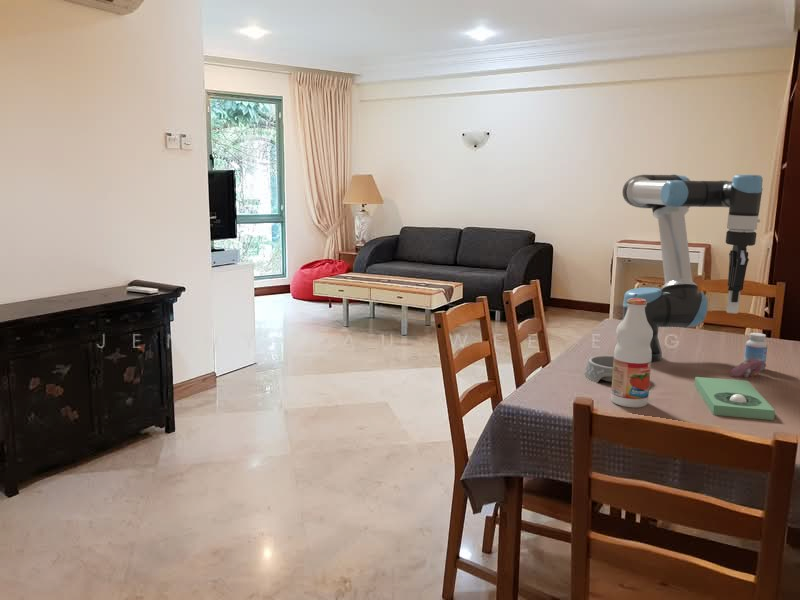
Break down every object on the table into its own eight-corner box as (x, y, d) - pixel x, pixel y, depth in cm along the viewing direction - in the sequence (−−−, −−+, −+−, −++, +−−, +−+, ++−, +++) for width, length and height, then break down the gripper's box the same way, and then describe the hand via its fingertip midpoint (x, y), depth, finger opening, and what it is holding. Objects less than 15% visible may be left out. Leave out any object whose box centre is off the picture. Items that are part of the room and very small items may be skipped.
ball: (729, 412, 171) (731, 400, 169) (727, 402, 174) (728, 390, 172) (746, 413, 170) (748, 401, 168) (743, 403, 173) (745, 391, 171)
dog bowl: (591, 367, 210) (592, 351, 209) (651, 376, 201) (653, 359, 200) (577, 381, 195) (578, 363, 194) (642, 391, 187) (643, 372, 186)
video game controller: (737, 383, 199) (749, 366, 195) (727, 373, 203) (738, 356, 199) (760, 380, 203) (771, 363, 199) (749, 370, 207) (760, 353, 203)
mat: (694, 385, 192) (695, 376, 191) (746, 389, 189) (747, 380, 188) (713, 414, 167) (714, 405, 167) (774, 420, 164) (775, 410, 163)
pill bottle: (767, 371, 207) (771, 337, 205) (746, 370, 208) (750, 335, 206) (761, 366, 213) (765, 332, 211) (740, 365, 214) (744, 331, 212)
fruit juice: (620, 394, 182) (628, 295, 177) (653, 402, 176) (662, 299, 171) (604, 402, 176) (611, 299, 171) (637, 410, 169) (646, 303, 164)
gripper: (762, 233, 177) (751, 318, 182) (751, 229, 189) (741, 309, 194) (731, 232, 179) (722, 316, 184) (722, 228, 191) (713, 307, 196)
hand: (732, 312), depth 189 cm, fingers closed
